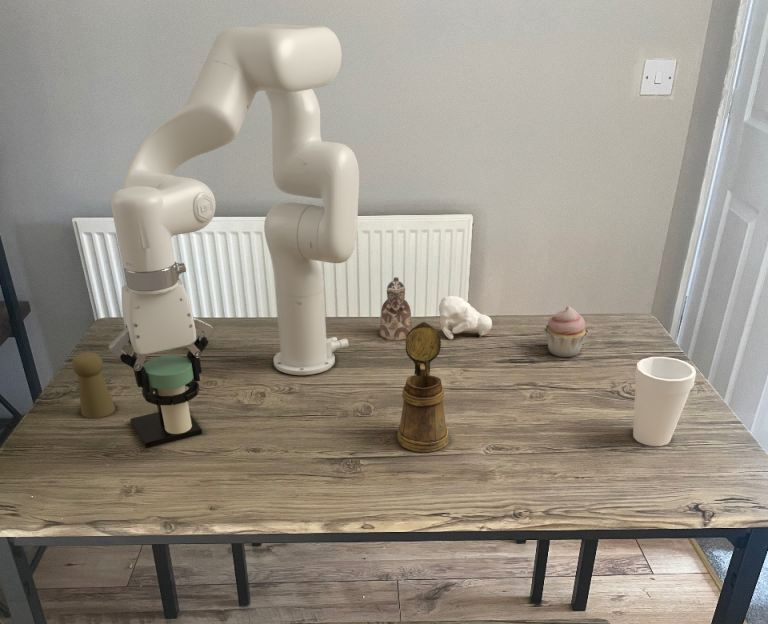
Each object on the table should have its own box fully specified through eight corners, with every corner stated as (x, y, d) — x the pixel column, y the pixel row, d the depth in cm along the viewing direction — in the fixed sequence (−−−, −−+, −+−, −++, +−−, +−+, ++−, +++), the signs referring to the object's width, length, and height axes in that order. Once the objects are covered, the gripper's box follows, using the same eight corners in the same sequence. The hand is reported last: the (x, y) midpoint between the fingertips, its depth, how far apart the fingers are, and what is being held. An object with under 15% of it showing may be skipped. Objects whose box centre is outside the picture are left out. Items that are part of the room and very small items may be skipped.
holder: (184, 410, 149) (174, 350, 142) (218, 455, 136) (209, 391, 129) (131, 423, 145) (118, 362, 138) (160, 470, 132) (147, 405, 125)
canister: (193, 412, 138) (183, 351, 132) (207, 431, 133) (197, 368, 126) (149, 423, 135) (137, 361, 129) (162, 443, 130) (150, 379, 123)
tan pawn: (105, 419, 146) (92, 363, 140) (75, 416, 147) (61, 361, 141) (120, 404, 151) (109, 349, 144) (91, 401, 152) (78, 347, 146)
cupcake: (552, 339, 175) (558, 294, 169) (592, 349, 170) (599, 303, 165) (533, 353, 169) (538, 308, 163) (574, 364, 164) (580, 318, 158)
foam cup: (649, 455, 135) (664, 385, 127) (612, 431, 141) (625, 363, 134) (691, 442, 138) (708, 373, 131) (653, 419, 145) (667, 352, 138)
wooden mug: (446, 414, 147) (450, 321, 137) (449, 452, 136) (454, 353, 125) (397, 414, 147) (397, 321, 137) (397, 452, 136) (397, 353, 126)
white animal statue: (440, 290, 175) (495, 296, 175) (435, 327, 180) (488, 333, 180) (440, 301, 170) (496, 307, 170) (435, 338, 175) (490, 344, 175)
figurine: (377, 339, 176) (376, 285, 169) (382, 326, 181) (382, 274, 174) (409, 341, 175) (410, 287, 168) (413, 328, 180) (414, 275, 173)
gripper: (199, 260, 125) (214, 363, 136) (86, 279, 119) (110, 387, 129) (215, 273, 120) (229, 380, 130) (98, 294, 113) (122, 406, 124)
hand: (170, 383), depth 130 cm, fingers closed on canister, 7 cm apart
